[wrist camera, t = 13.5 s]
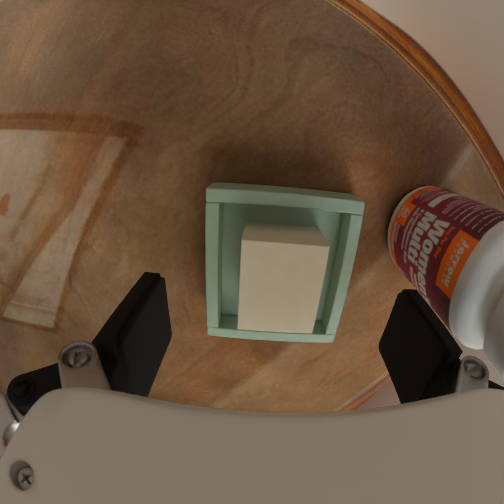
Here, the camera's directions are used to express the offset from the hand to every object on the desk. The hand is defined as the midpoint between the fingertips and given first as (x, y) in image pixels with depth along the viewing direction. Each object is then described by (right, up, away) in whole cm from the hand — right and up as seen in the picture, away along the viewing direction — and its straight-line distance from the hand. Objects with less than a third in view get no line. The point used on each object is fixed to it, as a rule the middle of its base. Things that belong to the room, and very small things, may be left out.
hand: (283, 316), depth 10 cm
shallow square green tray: (0, +2, +6) cm, 6 cm away
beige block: (0, +2, +6) cm, 6 cm away
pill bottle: (+10, +4, +5) cm, 12 cm away
